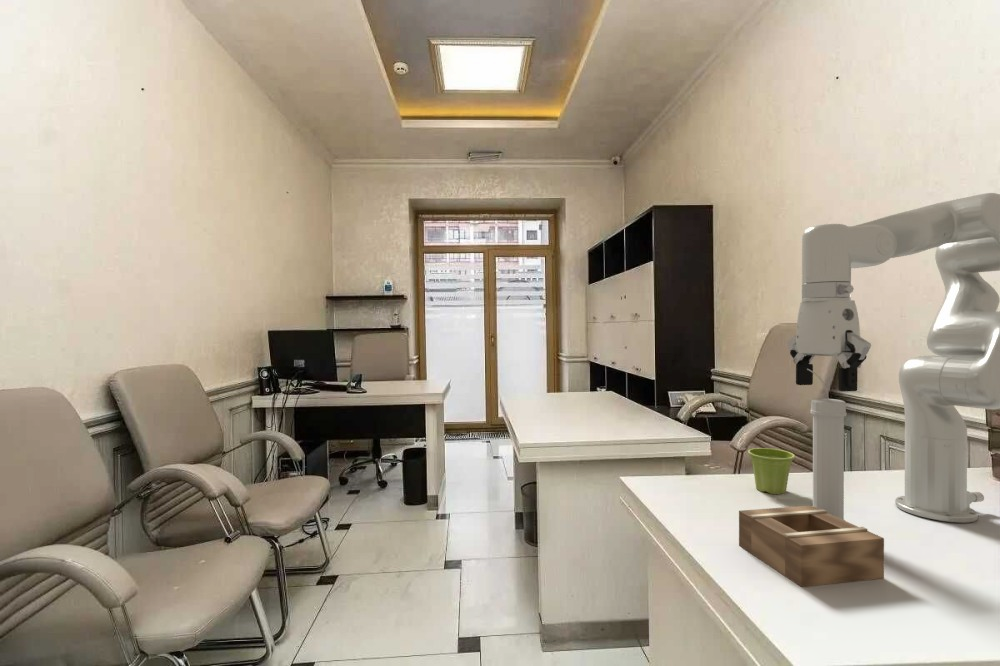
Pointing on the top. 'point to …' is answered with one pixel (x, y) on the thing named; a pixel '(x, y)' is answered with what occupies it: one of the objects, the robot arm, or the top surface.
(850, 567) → the socket block
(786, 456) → the plant pot
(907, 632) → the top surface
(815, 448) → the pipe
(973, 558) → the top surface
